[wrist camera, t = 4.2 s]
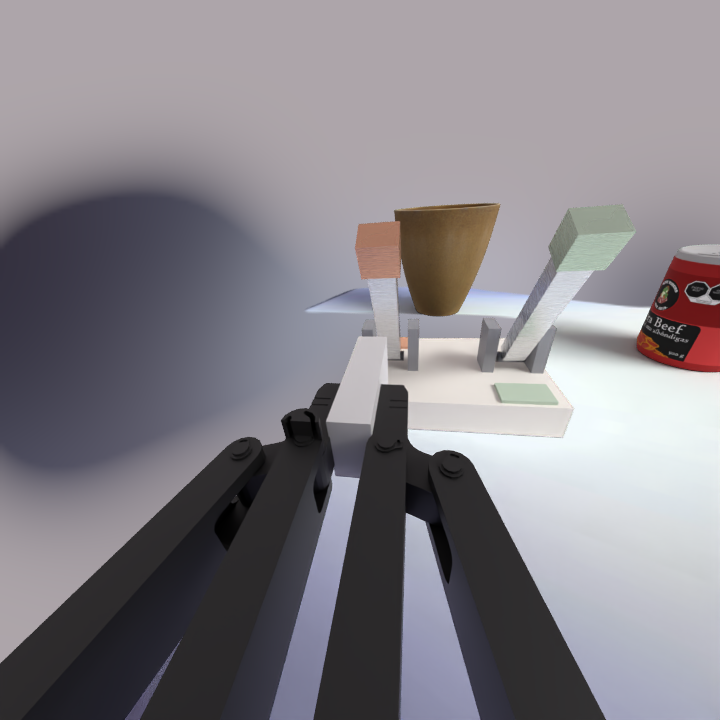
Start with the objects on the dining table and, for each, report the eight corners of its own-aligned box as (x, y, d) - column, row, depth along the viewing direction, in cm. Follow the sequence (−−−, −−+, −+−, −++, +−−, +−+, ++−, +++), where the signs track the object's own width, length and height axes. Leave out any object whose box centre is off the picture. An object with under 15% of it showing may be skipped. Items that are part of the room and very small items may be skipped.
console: (516, 361, 33) (530, 300, 29) (563, 437, 22) (594, 357, 19) (371, 359, 36) (368, 303, 32) (355, 425, 26) (347, 354, 22)
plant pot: (457, 334, 40) (470, 207, 32) (378, 313, 50) (373, 211, 42) (498, 304, 49) (517, 199, 41) (425, 291, 58) (429, 204, 50)
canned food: (621, 338, 36) (661, 245, 30) (705, 342, 33) (764, 242, 28) (654, 369, 29) (711, 260, 24) (760, 377, 27) (851, 258, 21)
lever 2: (520, 350, 27) (622, 204, 14) (524, 369, 26) (636, 231, 13) (493, 350, 27) (568, 208, 14) (496, 368, 26) (578, 235, 14)
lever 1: (404, 349, 29) (399, 221, 16) (403, 367, 28) (398, 245, 15) (380, 349, 29) (358, 224, 16) (379, 366, 28) (355, 248, 16)
